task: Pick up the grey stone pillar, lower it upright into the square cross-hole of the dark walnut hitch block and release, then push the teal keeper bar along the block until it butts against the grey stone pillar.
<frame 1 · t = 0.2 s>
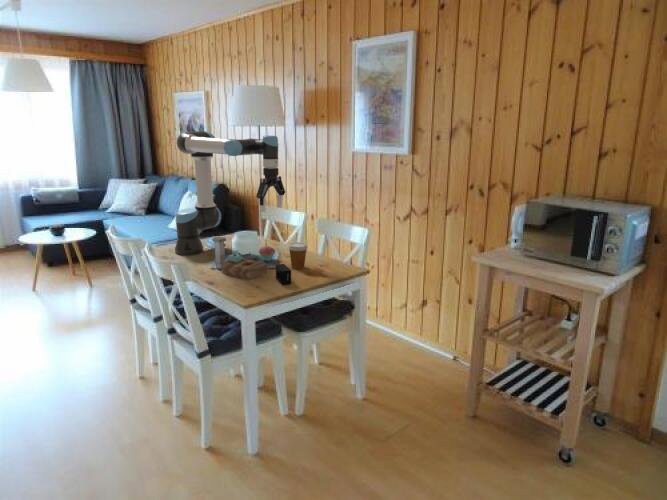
hand: (271, 209, 234), 28 cm above the table, fingers open, 13 cm apart
disposable coffee cup: (297, 267, 233), on the table
grey stone pillar: (220, 268, 229), on the table
hitch block: (244, 273, 223), on the table
cupcake: (267, 260, 244), on the table
keeper: (234, 257, 224), point 7 cm above the table, slide at 0.0 cm
digital camera: (281, 282, 213), on the table
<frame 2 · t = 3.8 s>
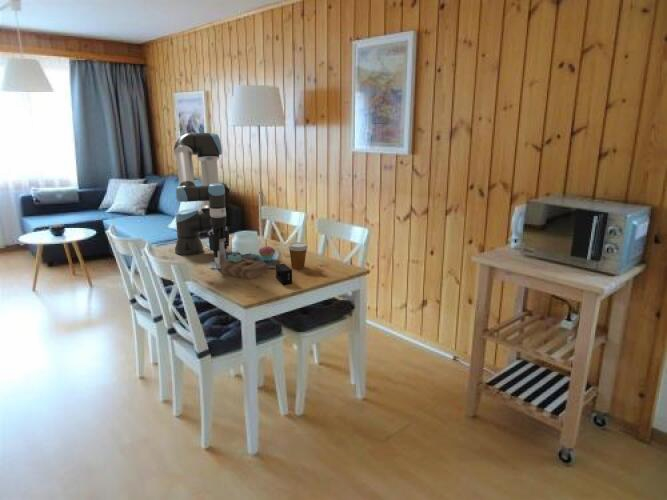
hand: (220, 262, 228), 3 cm above the table, fingers closed on grey stone pillar, 3 cm apart
grey stone pillar: (220, 267, 229), on the table, touching gripper
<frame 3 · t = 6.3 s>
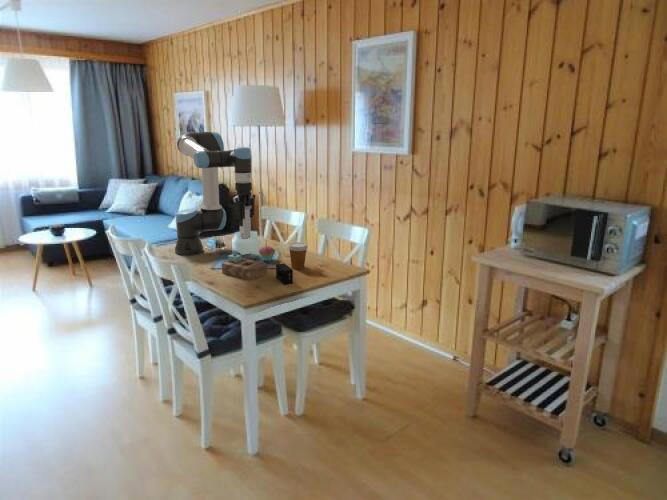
hand: (245, 231, 216), 21 cm above the table, fingers closed on grey stone pillar, 3 cm apart
grey stone pillar: (245, 237, 217), point 18 cm above the table, touching gripper
when the fingers open (6 cm above the table, at t = 8.8 s): grey stone pillar drops 3 cm, resting in hitch block.
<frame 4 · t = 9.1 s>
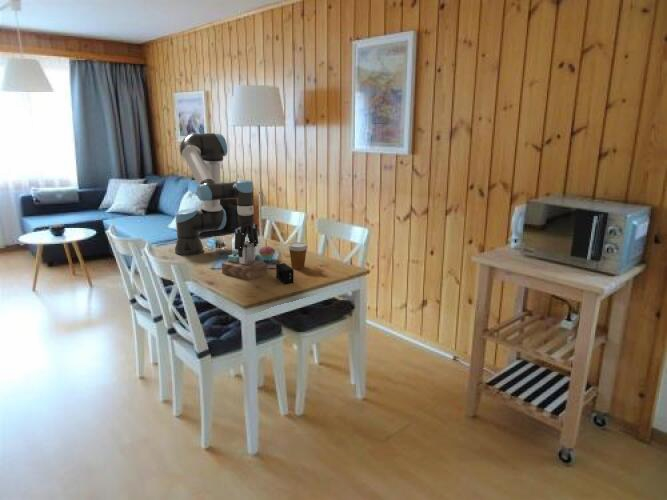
hand: (247, 261, 220), 6 cm above the table, fingers open, 7 cm apart
grey stone pillar: (247, 273, 222), resting in hitch block
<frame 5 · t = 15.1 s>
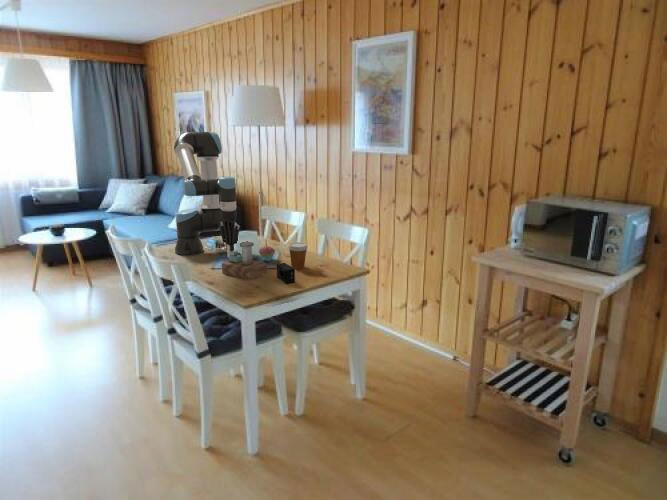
hand: (230, 257, 225), 7 cm above the table, fingers closed
keeper: (235, 257, 223), point 7 cm above the table, slide at 0.6 cm, touching gripper
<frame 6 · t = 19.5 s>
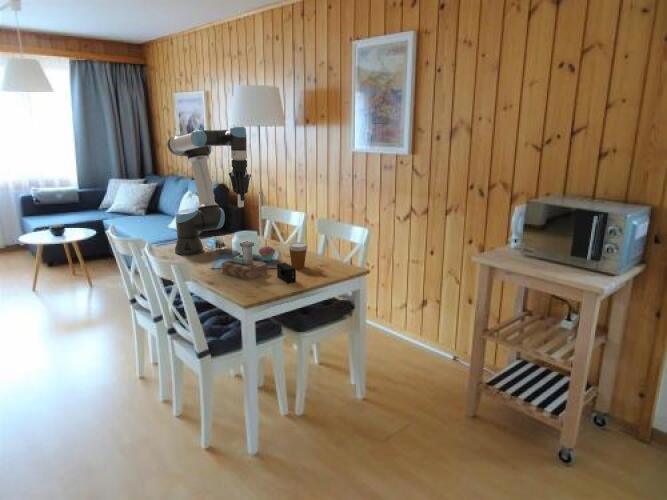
hand: (240, 206, 230), 29 cm above the table, fingers closed
grey stone pillar: (247, 273, 222), resting in hitch block, touching keeper
keeper: (241, 258, 222), point 7 cm above the table, slide at 4.0 cm, touching grey stone pillar
at the end: grey stone pillar 0.0 cm from the target spot on the hitch block, point 0.0 cm above the hitch block's base; grey stone pillar tilted 1°; keeper slide at 4.0 cm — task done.
